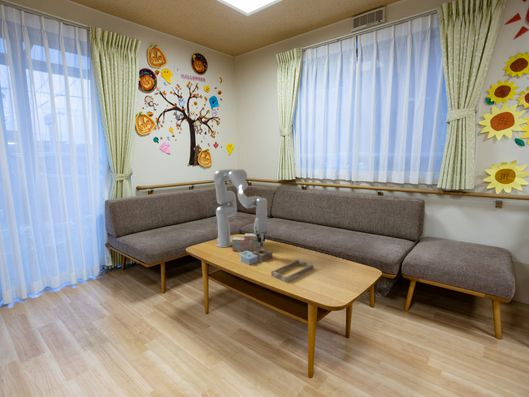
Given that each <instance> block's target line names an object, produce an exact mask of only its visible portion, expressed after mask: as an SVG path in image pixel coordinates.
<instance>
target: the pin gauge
mask: <svg viewBox="0 0 529 397" xmlns="http://www.w3.org/2000/svg"><path fill="white" fill-rule="evenodd" d="M263 238H264V232H262V233H261V243H259V246H260V247H261V248H263V247H264V241H263Z"/></svg>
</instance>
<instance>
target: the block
mask: <svg viewBox="0 0 529 397" xmlns="http://www.w3.org/2000/svg"><path fill="white" fill-rule="evenodd" d="M240 262H242V263H243V264H246V265H248V266H250V265H252V264H255V263H258V262H259V260H258V256H257V255H254V254H252V253H248V254H245V255H242V256H241V257H240Z"/></svg>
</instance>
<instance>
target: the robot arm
mask: <svg viewBox="0 0 529 397" xmlns="http://www.w3.org/2000/svg"><path fill="white" fill-rule="evenodd" d="M247 178H248V174H247V172H246V170H244V169H241V168H240V169H238V168H233V169H232V168H228V169H218V170H217V171H215V172H214V174H213V182H214V186H215V197H216V202H217V204H219V205H220V206H218V207H217V208H216V210H215V215H216V220H217V238H216V241H217V243H216V247H220V248H227V247H231V246H232V241H231V223H230V221H229V218H230V217H234V216H236V214H238V213H237V212H238V205H237V199H238V202H240V204H241V206H242V207H244V208H245V209H252V208H255V219H254V223H253V233H254V234H255V235H256V236H257V242H259V243H261V233H262V232H264V238H263V242H266V236H267V235H266V234H267V233H268V232H269V219H268V199H267V198H266V197H261V196H258V195H254V196H247V195H246V194H245V192H244V191H245V190H246V189H247V188H248V186H249V184H248V182H247V181H246V180H247ZM227 181H231V183H232V185H234V187H235V188H236V190H237V196H236V194H235V192H234V191H232V190H227V189H228V188H227V185H226V182H227Z"/></svg>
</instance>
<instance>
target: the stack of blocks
mask: <svg viewBox="0 0 529 397" xmlns="http://www.w3.org/2000/svg"><path fill="white" fill-rule="evenodd" d="M231 239H232V240H231V242H232V245H231V246H232V252H244V251H249V252H254V251H257V250H260V249H262V247H260V246H259V242H257V236H256V235H255V234H254V232H253V233H250V232H249V233H246V232H245V233H244V236H240V237H239V236H233V237H232V238H231Z"/></svg>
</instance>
